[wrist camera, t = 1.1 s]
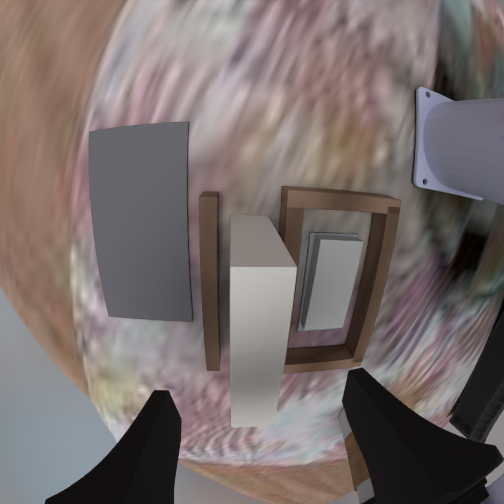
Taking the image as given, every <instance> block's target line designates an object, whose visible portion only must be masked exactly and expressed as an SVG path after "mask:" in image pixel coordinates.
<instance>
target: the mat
mask: <svg viewBox="0 0 504 504" xmlns="http://www.w3.org/2000/svg"><path fill="white" fill-rule="evenodd" d="M188 132H189V122H172V123H156V124H144V125H134V126H125V127H117V128H110V129H103V130H96V131H90V132H89V186H90V202H91V214H92V224H93V233H94V241H95V248H96V255H97V261H98V267H99V273H100V278H101V283H102V288H103V293H104V298H105V302H106V307H107V311H108V315H109V316H111V317H122V318H134V319H148V320H164V321H186V322H193V312H192V299H191V283H190V265H189V242H188Z"/></svg>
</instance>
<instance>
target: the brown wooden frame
mask: <svg viewBox="0 0 504 504" xmlns="http://www.w3.org/2000/svg"><path fill="white" fill-rule="evenodd" d="M400 205H401V200H399V199H396V198H393V197H390V196H387V195H381V194H372V193H363V192H353V191H343V190H332V189H319V188H305V187H289V186H282V195H281V211H280V226H279V236H280V238H281V240H282V241H283V243H284V245H285V247H286V248H287V250H288V252H289V254H290V256H291V257H292V259H293V261H294V263H295V265H296V266H297V272H298V263H299V254H300V244H301V234H302V223H303V211H304V208H314V209H331V210H346V211H360V212H373V214H372V221H371V228H370V235H369V241H368V247H367V253H366V258H365V263H364V269H363V274H362V278H361V283H360V288H359V292H358V297H357V301H356V305H355V309H354V313H353V317H352V321H351V325H350V329H349V333H348V336H347V340H346V343H345V344H344V345H334V346H322V347H309V348H293V349H288V343H287V349H286V356H285V363H284V369H283V374H289V373H303V372H314V371H324V370H333V369H341V368H348V367H355V366H360V365H361V363H362V360H363V357H364V354H365V351H366V348H367V346H368V343H369V339H370V336H371V333H372V330H373V327H374V324H375V320H376V317H377V314H378V310H379V306H380V303H381V299H382V295H383V292H384V288H385V284H386V279H387V275H388V271H389V266H390V262H391V257H392V252H393V247H394V242H395V237H396V231H397V225H398V219H399V212H400ZM218 211H219V192H203V193H202V194H201V195H200V196H199V221H200V266H201V291H202V310H203V327H204V341H205V354H206V366H207V371H220V328H219V277H218ZM297 272H296V281H297ZM296 281H295V290H296ZM295 290H294V298H295ZM294 298H293V306H294ZM293 306H292V313H293ZM291 321H292V314H291ZM291 321H290V328H291ZM290 328H289V335H290ZM288 342H289V336H288Z"/></svg>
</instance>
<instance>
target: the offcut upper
mask: <svg viewBox="0 0 504 504" xmlns="http://www.w3.org/2000/svg"><path fill="white" fill-rule="evenodd" d="M362 246H363V241H362V240H360V239H359V238H357V237H345V236H327V235H316V237H315V244H314V250H313V257H312V263H311V269H310V275H309V280H308V286H307V292H306V297H305V303H304V308H303V313H302V318H301V324H302V327H303V329H304V330H314V329H330V328H342V327H343V324H344V321H345V317H346V313H347V310H348V306H349V302H350V298H351V295H352V291H353V287H354V282H355V278H356V274H357V270H358V265H359V261H360V256H361V251H362Z"/></svg>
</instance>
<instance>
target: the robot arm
mask: <svg viewBox="0 0 504 504" xmlns="http://www.w3.org/2000/svg"><path fill="white" fill-rule="evenodd" d="M426 93H427V95H428V97H427V96H426ZM416 109H417V120H416V150H415V164H414V176H413V183H414V185H415V186H417V187H421V188H426V189H431V190H436V191H441V192H446V193H451V194H455V195H460V196H464V197H468V198H473V199H477V200H481V201H482V200H483V199H487V200H490V201H493V202H496V203H499V204H502V205H504V98H492V99H475V100H463V101H453V100H451V99H449V98H447V97H445V96H443V95H440V94H438V93H436V92H434V91H431V90H429V89H426V88H424V87H418V88H417V89H416ZM423 179H424V180H425V182H424V184H423ZM342 403H343V406H344V410H345V414H346V417H347V420H348V423H349V425H350V428H351V430H352V432H353V435H354V437H355V439H356V441H357V444H358V446H359V448H360V451H361V453H362V455H363V458H364V460H365V463H366V465H367V468H368V472H369V476H370V479H371V483H372V487H373V491H374V496H375V501H376V504H504V474H503V475H501V476H500V477H499V478H498V479H497V480H496V481H494V482H493V483H492V484H491V485H489V486H488V487H485V484H486V483H487V480H486V478H485V477H486V476H487V475H488V474H490V473H491V472H492V471H493V470H494V469H495V468H497V467H498V466H499V465H500V464H501V463H502V462H503V460H504V458H503V457H502V455H501V453H500V452H499V450H498V449H497V447H496V446H494V445H489V444H484V443H480V442H476V441H472V440H469V439H466V438H463V437H460V436H458V435H456V434H453V433H451V432H449V431H446V430H444V429H442V428H440V427H438V426H436V425H434V424H433V423H431V422H429V421H428V420H426V419H424V418H423V417H421V416H420V415H418V414H417V413H415V412H414V411H413V410H411V409H410V408H408V407H407V406H406V405H404V404H403V403H402V402H401V401H399V400H398V399H397V398H396V397H395V396H393V395H392V394H391V393H390V392H389V391H388V390H386V389H385V388H384V387H383V386H382V385H381V384H380V383H379V382H378V381H376V380H375V379H374V378H373V377H372V376H371V375H370V374H369V373H368V372H367V371H366V370H365V369H363V368H358V369H354V370H350V371H349V372H348V376H347V381H346V386H345V390H344V395H343V399H342ZM180 442H181V417H180V415H179V412H178V410H177V408H176V406H175V404H174V401H173V399H172V397H171V395H170V392H169V390H154V391H153V393H152V394H151V396H150V397H149V399H148V401H147V402H146V404H145V405H144V407H143V408H142V410H141V411H140V413H139V414H138V416H137V417H136V419H135V420H134V422H133V423H132V425H131V426H130V427H129V429H128V430H127V432H126V433H125V434H124V435H123V437H122V438H121V439H120V441H119V442H118V443H117V444H116V446H115V447H114V448H113V449H112V450H111V451H110V452H109V454H108V455H107V456H106V457H105V458H104V459H103V460H102V461H101V462H100V463H99V464H98V465H97V466H95V468H93V469H92V470H91V471H90V472H89V473H87V474H86V475H85V476H84V477H82V478H81V479H80V480H78V481H77V482H75V483H74V484H73V485H71V486H70V487H68V488H67V489H65V490H63V491H61V492H59V493H58V494H56V495H54V496H52V497H50V498H48V499H46V501H45V504H174V484H175V476H176V469H177V462H178V456H179V449H180Z"/></svg>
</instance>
